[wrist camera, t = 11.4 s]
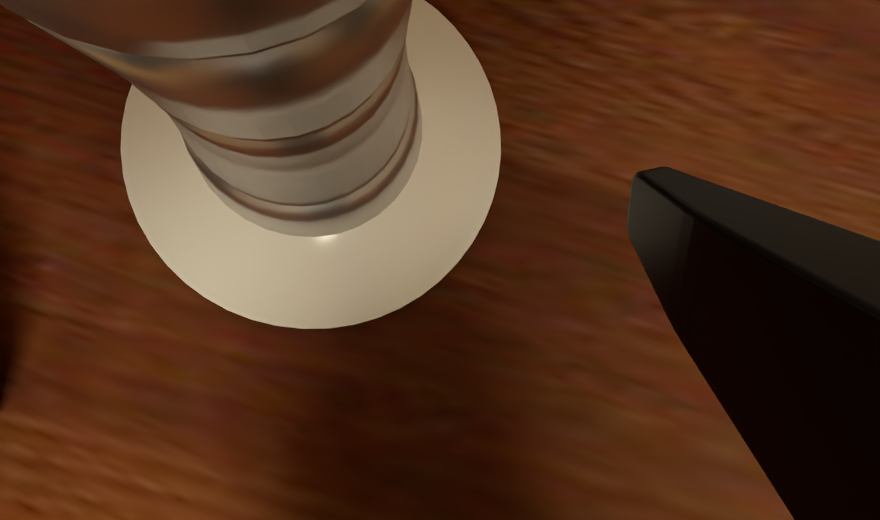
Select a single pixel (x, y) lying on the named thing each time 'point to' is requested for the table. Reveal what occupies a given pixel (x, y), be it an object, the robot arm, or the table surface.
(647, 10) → the table surface
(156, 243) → the saucer
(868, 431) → the robot arm
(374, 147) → the plastic bottle
